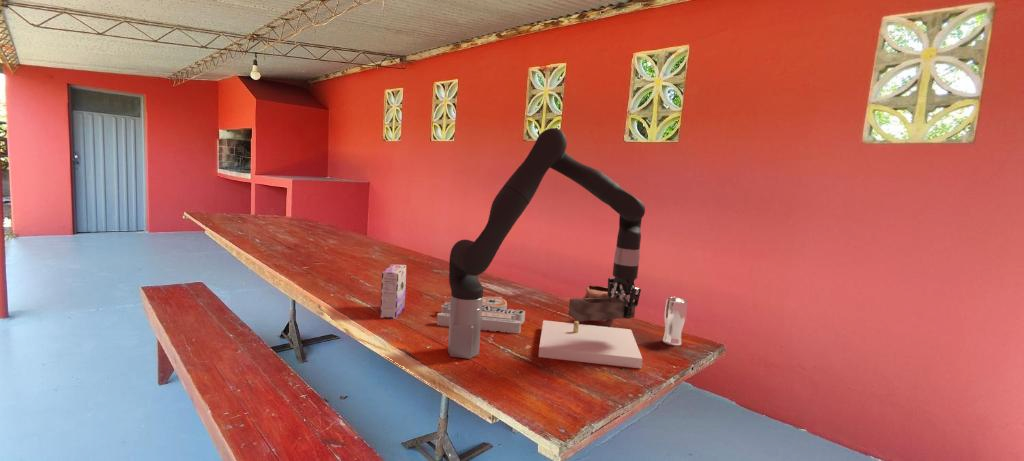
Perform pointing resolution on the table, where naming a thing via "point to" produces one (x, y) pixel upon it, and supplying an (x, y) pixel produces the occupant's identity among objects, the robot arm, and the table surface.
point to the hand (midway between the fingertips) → (620, 314)
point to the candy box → (393, 291)
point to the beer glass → (674, 320)
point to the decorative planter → (598, 293)
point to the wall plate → (589, 344)
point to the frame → (598, 308)
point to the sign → (491, 316)
